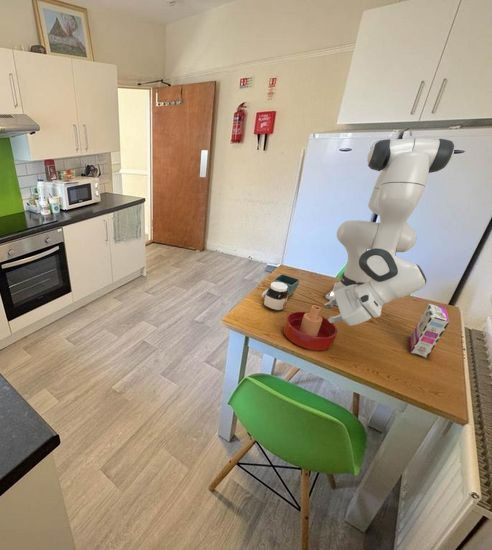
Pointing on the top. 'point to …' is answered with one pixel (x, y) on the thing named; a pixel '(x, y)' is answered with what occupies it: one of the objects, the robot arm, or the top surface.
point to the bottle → (311, 322)
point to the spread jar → (276, 296)
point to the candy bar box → (429, 330)
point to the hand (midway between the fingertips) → (327, 313)
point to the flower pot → (288, 282)
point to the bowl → (306, 341)
